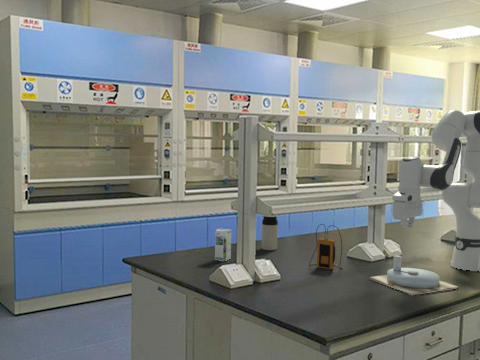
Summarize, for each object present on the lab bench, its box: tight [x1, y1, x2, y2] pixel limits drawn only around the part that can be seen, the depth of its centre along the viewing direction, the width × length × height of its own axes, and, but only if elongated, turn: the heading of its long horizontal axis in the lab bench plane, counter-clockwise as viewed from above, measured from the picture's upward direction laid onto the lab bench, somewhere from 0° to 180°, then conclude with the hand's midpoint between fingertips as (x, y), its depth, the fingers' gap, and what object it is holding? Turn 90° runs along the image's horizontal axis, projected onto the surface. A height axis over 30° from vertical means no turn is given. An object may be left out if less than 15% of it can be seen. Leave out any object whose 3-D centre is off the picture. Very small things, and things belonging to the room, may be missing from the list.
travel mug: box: [261, 215, 279, 252], centre depth 263 cm, size 8×8×18 cm
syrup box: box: [214, 228, 232, 262], centre depth 238 cm, size 6×6×14 cm
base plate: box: [369, 274, 459, 295], centre depth 204 cm, size 24×24×2 cm
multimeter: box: [308, 223, 343, 270], centre depth 229 cm, size 15×10×20 cm
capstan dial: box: [386, 255, 441, 288], centre depth 204 cm, size 20×20×9 cm
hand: (407, 228), depth 213 cm, fingers open, 4 cm apart
